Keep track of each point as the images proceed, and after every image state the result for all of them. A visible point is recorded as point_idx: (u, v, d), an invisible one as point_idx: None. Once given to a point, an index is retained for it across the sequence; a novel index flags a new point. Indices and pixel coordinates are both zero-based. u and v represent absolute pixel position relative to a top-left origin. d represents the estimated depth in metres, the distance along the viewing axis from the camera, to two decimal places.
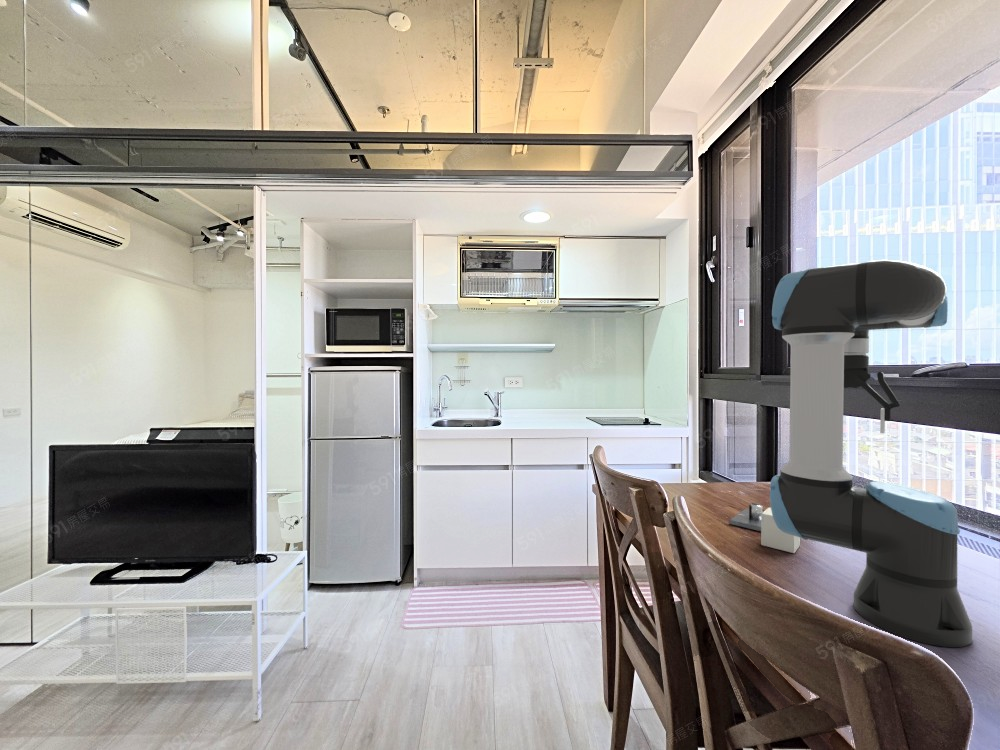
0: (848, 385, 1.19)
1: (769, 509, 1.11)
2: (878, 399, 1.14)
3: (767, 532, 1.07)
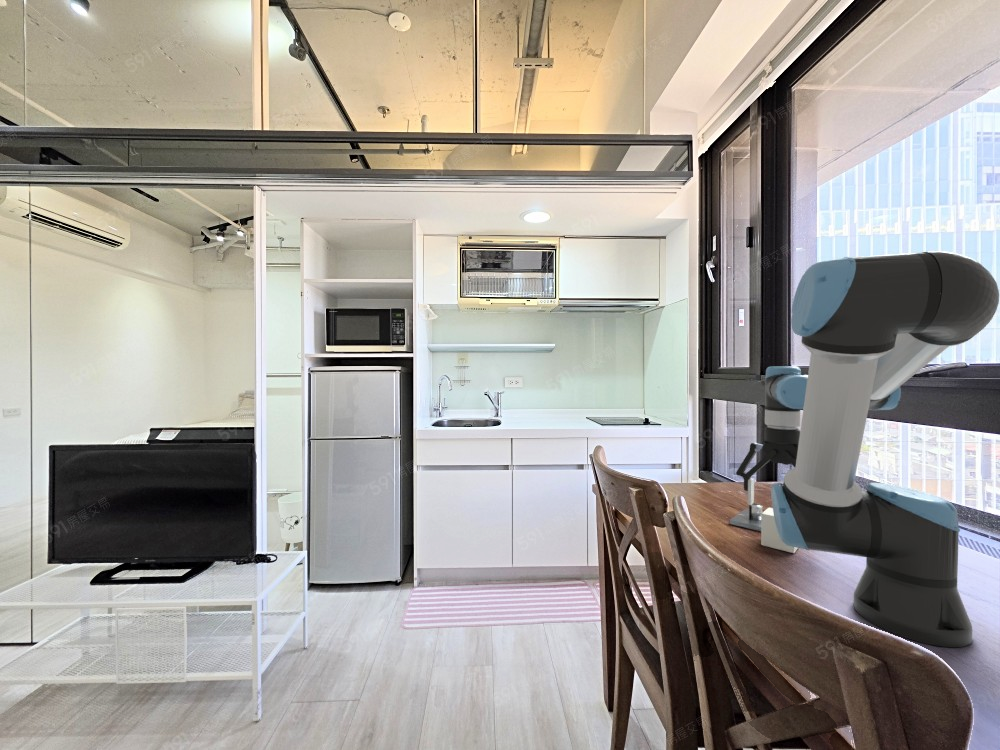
0: (778, 461, 1.08)
1: (769, 509, 1.11)
2: None
3: (767, 532, 1.07)
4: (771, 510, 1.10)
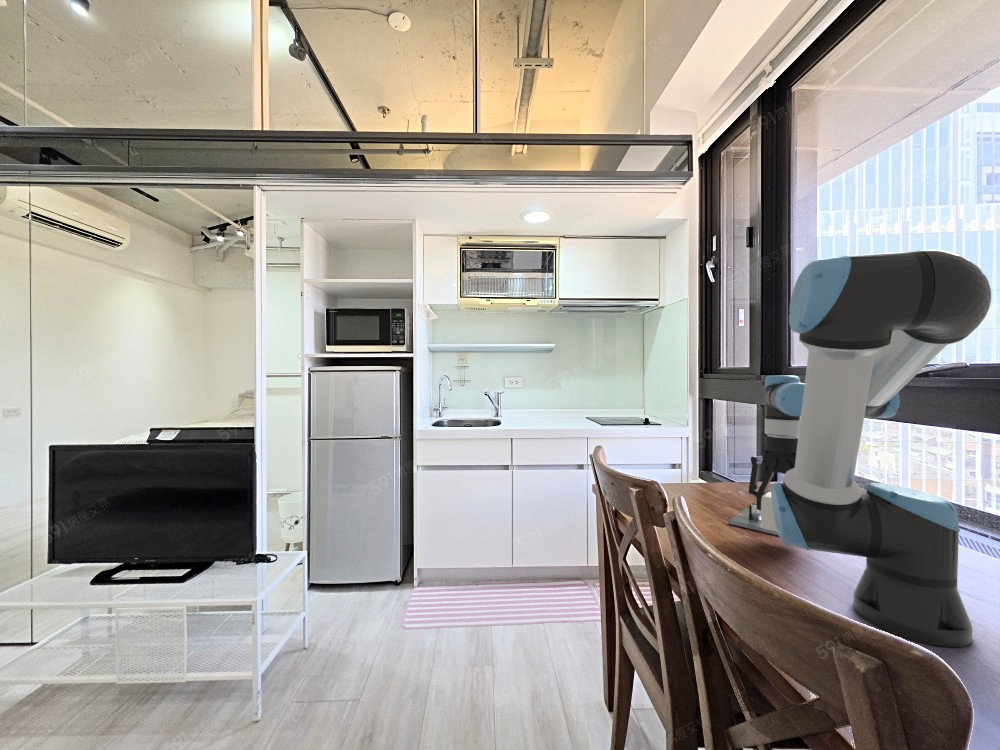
0: (779, 470, 1.07)
1: (769, 493, 1.11)
2: None
3: (768, 515, 1.06)
4: None
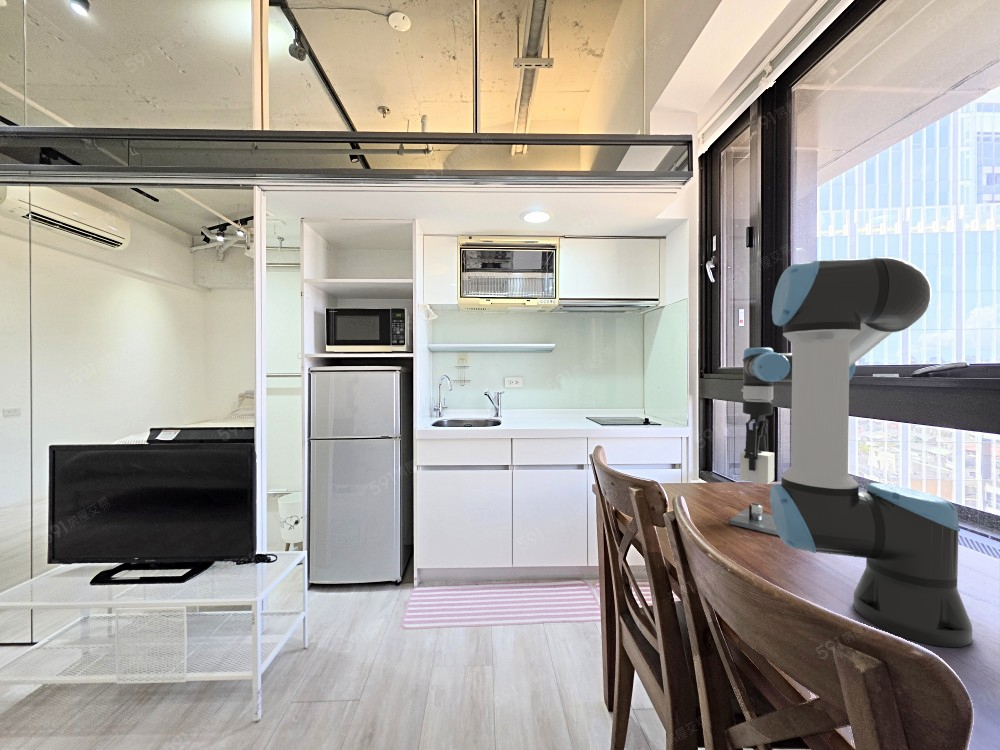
0: None
1: None
2: (765, 445, 1.26)
3: (769, 471, 1.20)
4: None
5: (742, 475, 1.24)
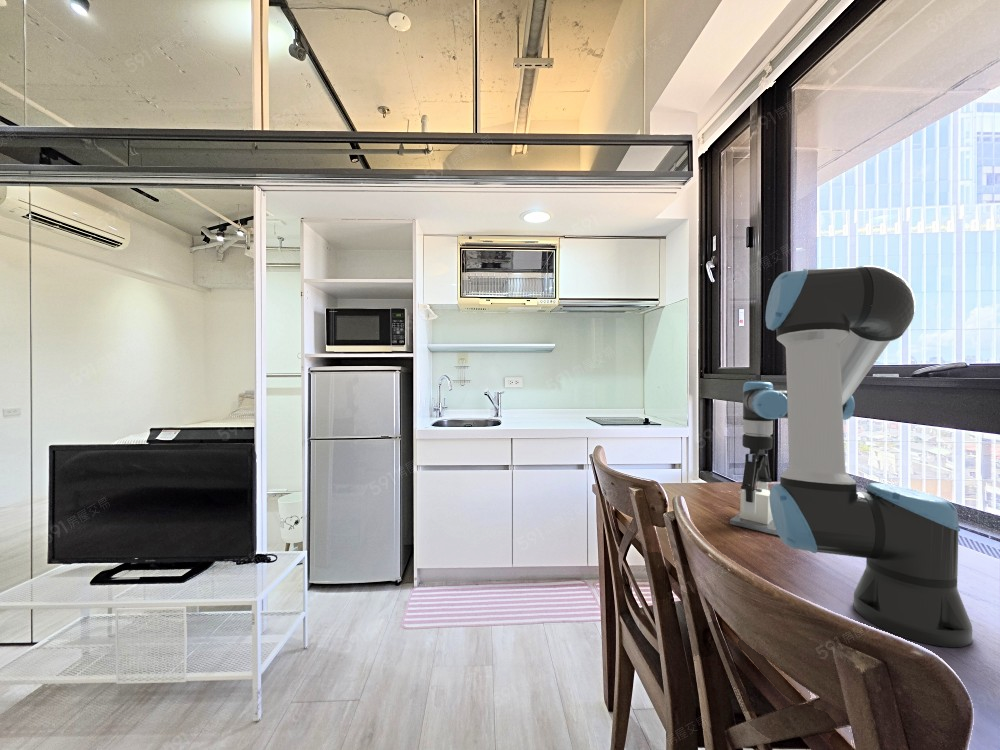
0: None
1: None
2: (766, 474, 1.27)
3: (769, 511, 1.20)
4: None
5: (742, 513, 1.24)
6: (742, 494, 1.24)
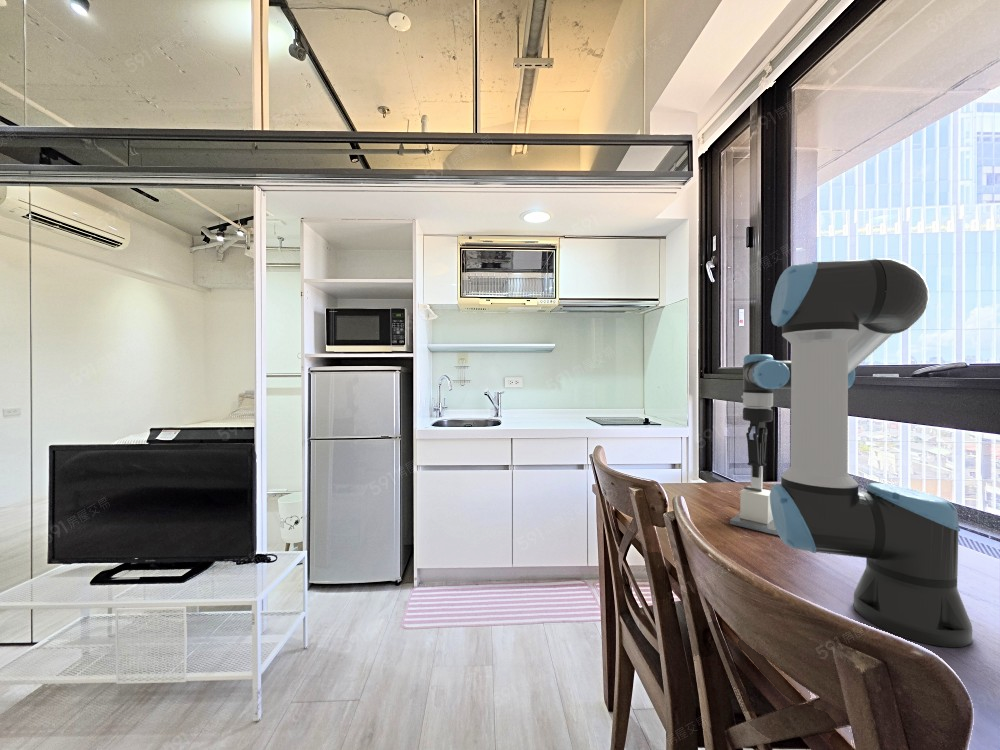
0: None
1: (748, 491, 1.23)
2: (762, 454, 1.24)
3: (769, 510, 1.20)
4: (751, 491, 1.23)
5: (742, 513, 1.24)
6: (742, 494, 1.24)
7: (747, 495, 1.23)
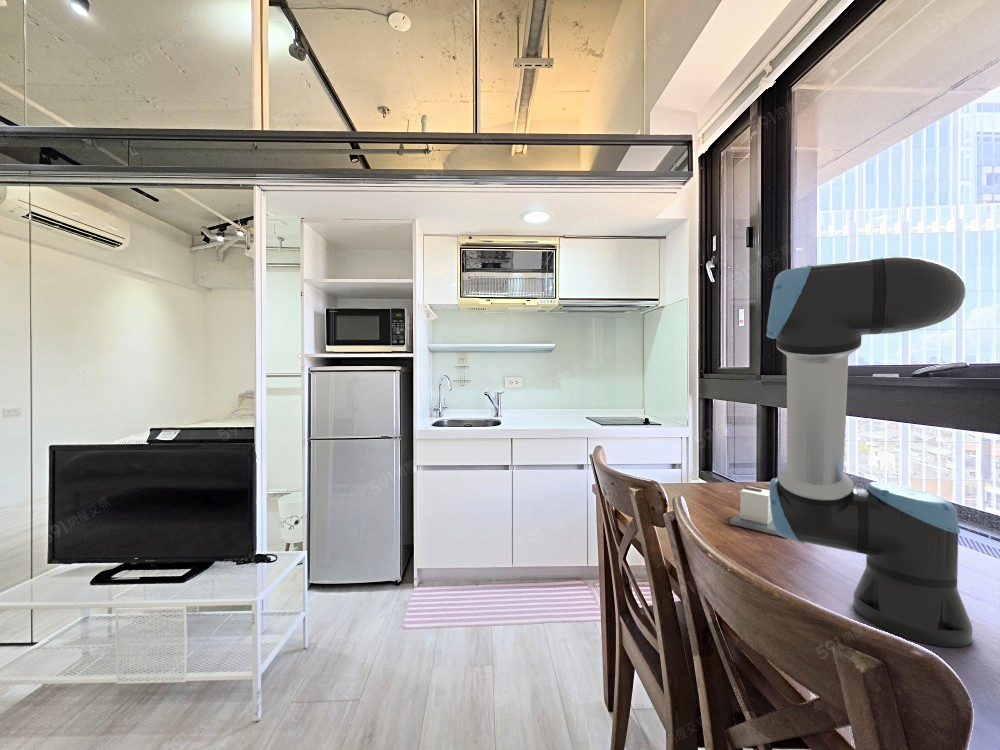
0: None
1: (748, 491, 1.23)
2: None
3: (769, 511, 1.20)
4: (751, 491, 1.23)
5: (742, 513, 1.24)
6: (742, 494, 1.24)
7: (747, 495, 1.23)
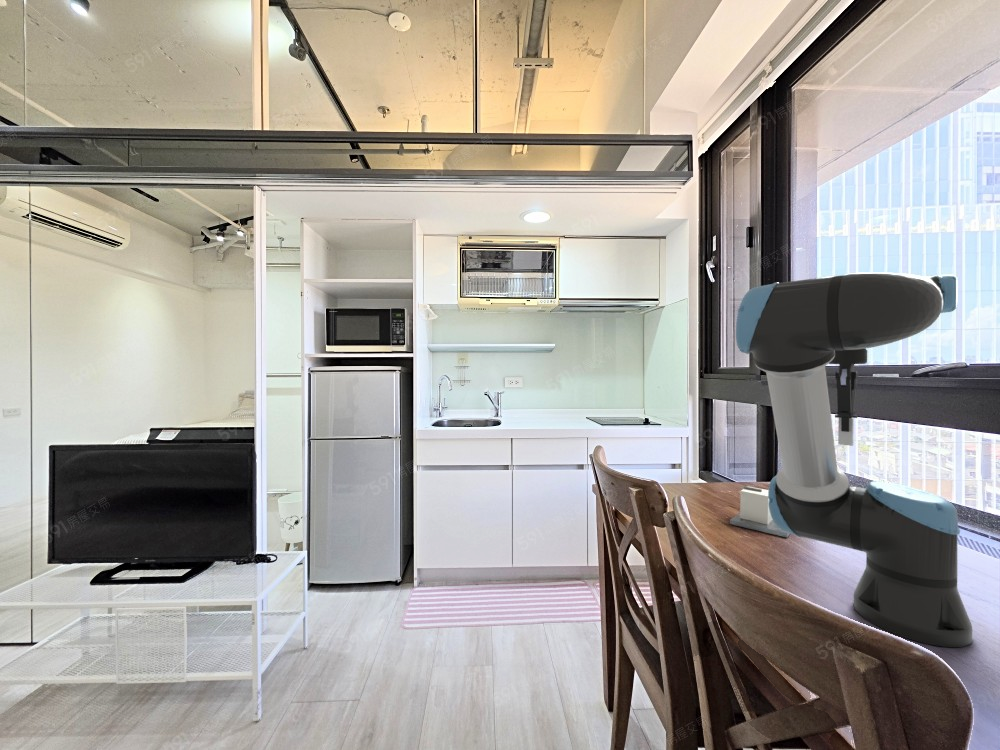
0: None
1: (748, 491, 1.23)
2: (853, 404, 1.03)
3: (769, 511, 1.20)
4: (751, 491, 1.23)
5: (742, 513, 1.24)
6: (742, 494, 1.24)
7: (747, 495, 1.23)
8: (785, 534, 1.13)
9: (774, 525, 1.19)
